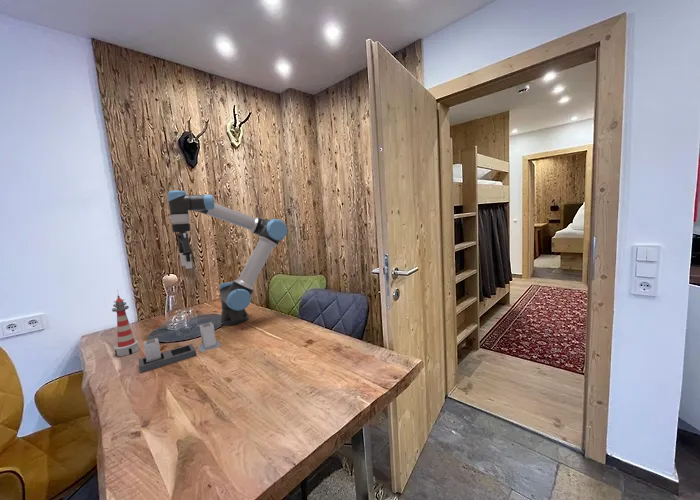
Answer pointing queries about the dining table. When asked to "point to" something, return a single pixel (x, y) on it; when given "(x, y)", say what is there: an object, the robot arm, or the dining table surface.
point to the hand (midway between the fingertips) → (186, 267)
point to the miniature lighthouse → (123, 331)
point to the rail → (168, 358)
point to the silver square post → (152, 350)
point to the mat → (208, 348)
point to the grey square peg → (207, 335)
